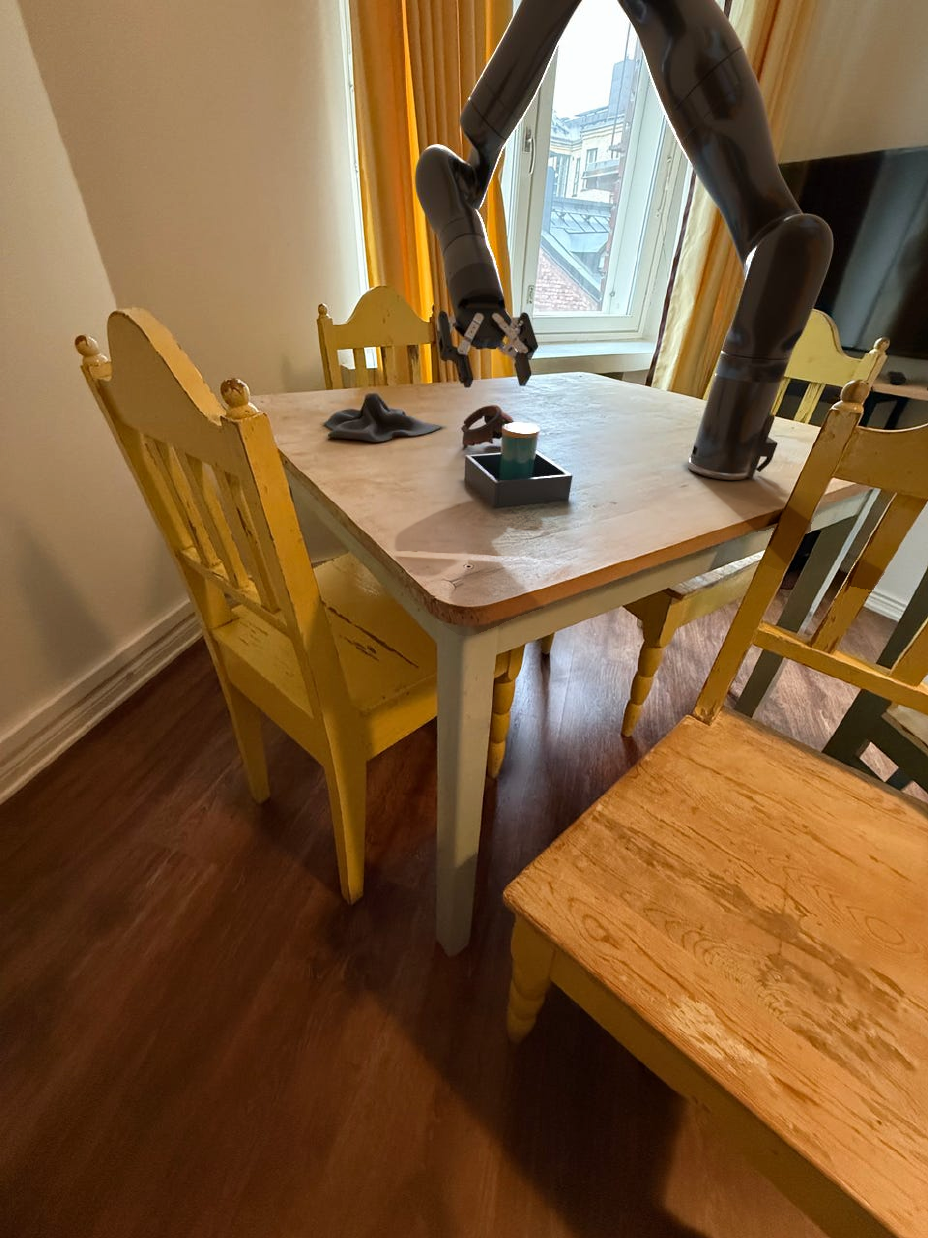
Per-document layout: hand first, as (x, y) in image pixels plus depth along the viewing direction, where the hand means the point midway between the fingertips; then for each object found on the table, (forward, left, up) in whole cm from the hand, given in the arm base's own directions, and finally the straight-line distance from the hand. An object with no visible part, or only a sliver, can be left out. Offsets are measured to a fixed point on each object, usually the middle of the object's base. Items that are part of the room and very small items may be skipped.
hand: (497, 383), depth 73 cm
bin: (-3, +8, -13) cm, 15 cm away
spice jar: (-3, +8, -12) cm, 15 cm away
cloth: (+21, -22, -13) cm, 33 cm away
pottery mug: (0, -12, -13) cm, 18 cm away
